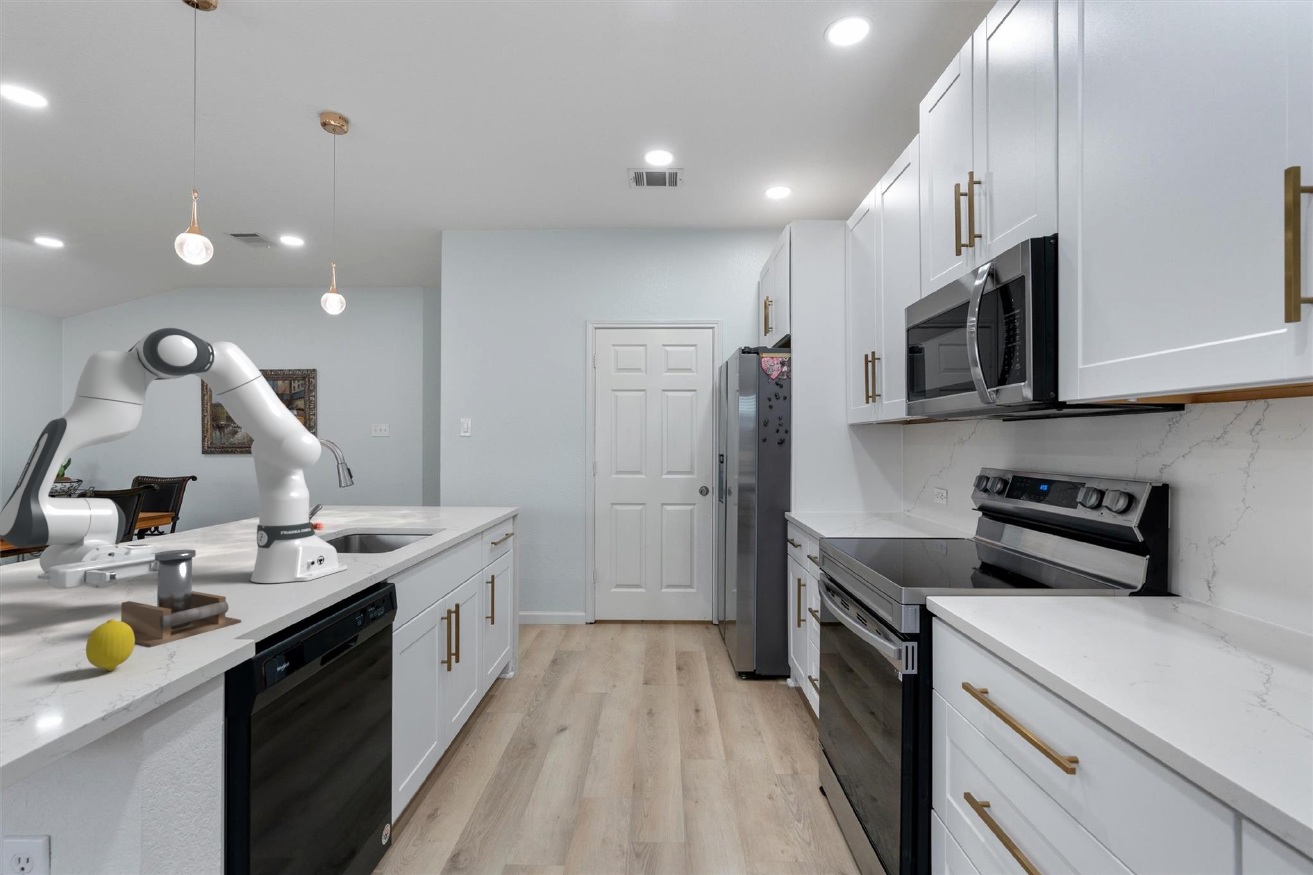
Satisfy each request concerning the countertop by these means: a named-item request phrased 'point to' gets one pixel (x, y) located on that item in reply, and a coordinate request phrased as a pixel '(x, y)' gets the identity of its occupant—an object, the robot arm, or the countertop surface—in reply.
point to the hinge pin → (175, 581)
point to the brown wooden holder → (175, 619)
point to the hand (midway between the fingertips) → (141, 572)
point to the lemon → (110, 644)
